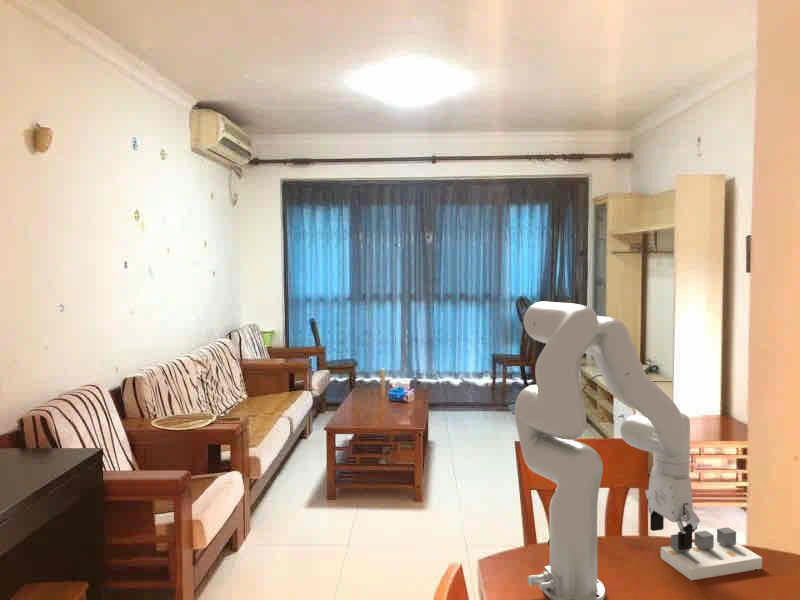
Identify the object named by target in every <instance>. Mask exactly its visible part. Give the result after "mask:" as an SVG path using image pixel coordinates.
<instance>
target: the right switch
mask: <svg viewBox="0 0 800 600" xmlns="http://www.w3.org/2000/svg"><path fill="white" fill-rule="evenodd" d="M716 539H717V542H718V543H720V544H722V545H723V546H731V545H736V543H737V531H735V530H733V528H730V527H721V528H717V529H716Z"/></svg>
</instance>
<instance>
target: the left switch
mask: <svg viewBox="0 0 800 600" xmlns="http://www.w3.org/2000/svg"><path fill="white" fill-rule="evenodd" d="M670 546H671V548H672V549H673V550H675V551H676V552H678V553H681V552H687V551H690V549H686V550H679V549H678V533H676V534H671V535H670Z"/></svg>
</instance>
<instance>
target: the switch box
mask: <svg viewBox="0 0 800 600" xmlns="http://www.w3.org/2000/svg"><path fill="white" fill-rule="evenodd" d="M660 558H661V559H662V560H663V561H664V562H665V563H666V564H668V565H670V567H672V568H674V569H675V570H676V571H678V572H679V573H680V574H682V575H684V577H685V578H687V579H688V580H690V581H695V580H701V579H702V580H703V579H706V578H707V579H708V578H714V577H715V578H716V577H719V576H727V575H731V574H738V573H743V572H744V573H745V572H751V571H755V569H757V570H762V569H763V557H762V556H760V555H758V554H756V553H755V552H753V551H752V550H750V549H749V548H747V547H744V546H743V545H741V544H740V543H737V542H736V545H731V546H723V545H722V544H720V543H718V542H717V538H715V539H714V546H713V548H711V549H705V550H701V549H700V548H698V547H697V546H695V541H694V542H693V541H692V548H691V549H690V551H687V552H681V553H678V552H676V551H675V550H673V549H672V548H671V545H669V546H668V545H667V546H661V547H660ZM750 570H751V571H750Z"/></svg>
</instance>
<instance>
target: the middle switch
mask: <svg viewBox="0 0 800 600" xmlns="http://www.w3.org/2000/svg"><path fill="white" fill-rule="evenodd" d="M714 538H715V537H714V534H712V533H710V532H709V531H707V530H702V531H694V542H695V546H697V547H698V548H700V549H701V550H705V549H711V548H713V546H714Z"/></svg>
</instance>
